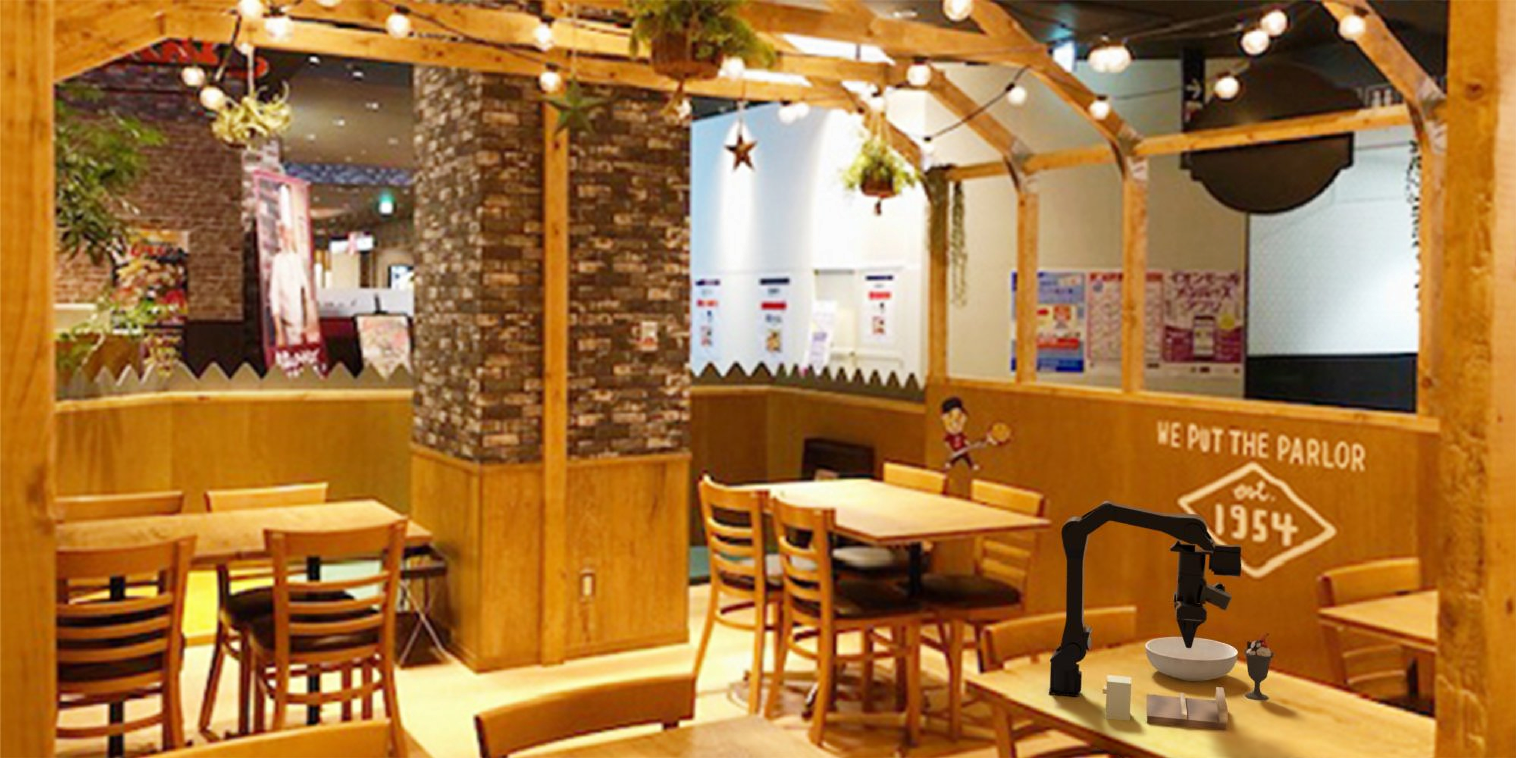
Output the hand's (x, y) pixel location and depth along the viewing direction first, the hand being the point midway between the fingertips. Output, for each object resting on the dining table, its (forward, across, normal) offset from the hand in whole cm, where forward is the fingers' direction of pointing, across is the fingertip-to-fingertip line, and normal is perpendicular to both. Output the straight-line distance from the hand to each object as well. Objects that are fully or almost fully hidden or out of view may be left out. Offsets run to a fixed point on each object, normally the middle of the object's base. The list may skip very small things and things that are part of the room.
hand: (1187, 642), depth 301 cm
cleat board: (+14, -7, 0) cm, 16 cm away
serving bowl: (+14, +24, -2) cm, 28 cm away
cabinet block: (+14, -12, +14) cm, 23 cm away
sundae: (+14, +11, -16) cm, 24 cm away
